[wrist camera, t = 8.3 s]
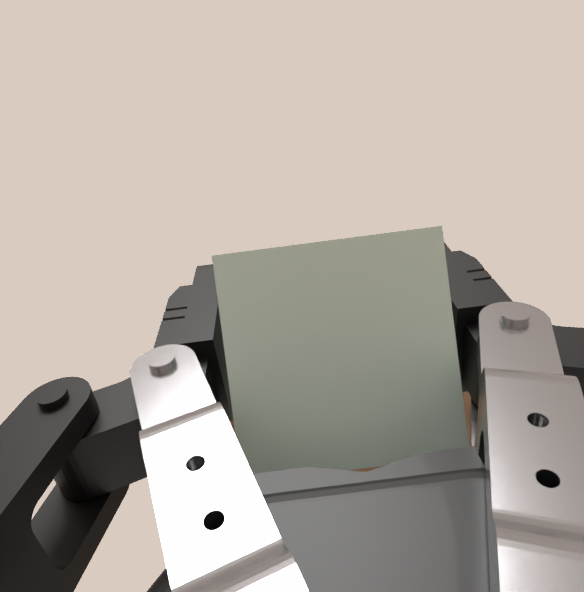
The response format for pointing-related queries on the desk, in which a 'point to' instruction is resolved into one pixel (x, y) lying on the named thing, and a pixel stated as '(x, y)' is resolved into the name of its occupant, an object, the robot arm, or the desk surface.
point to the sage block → (341, 351)
